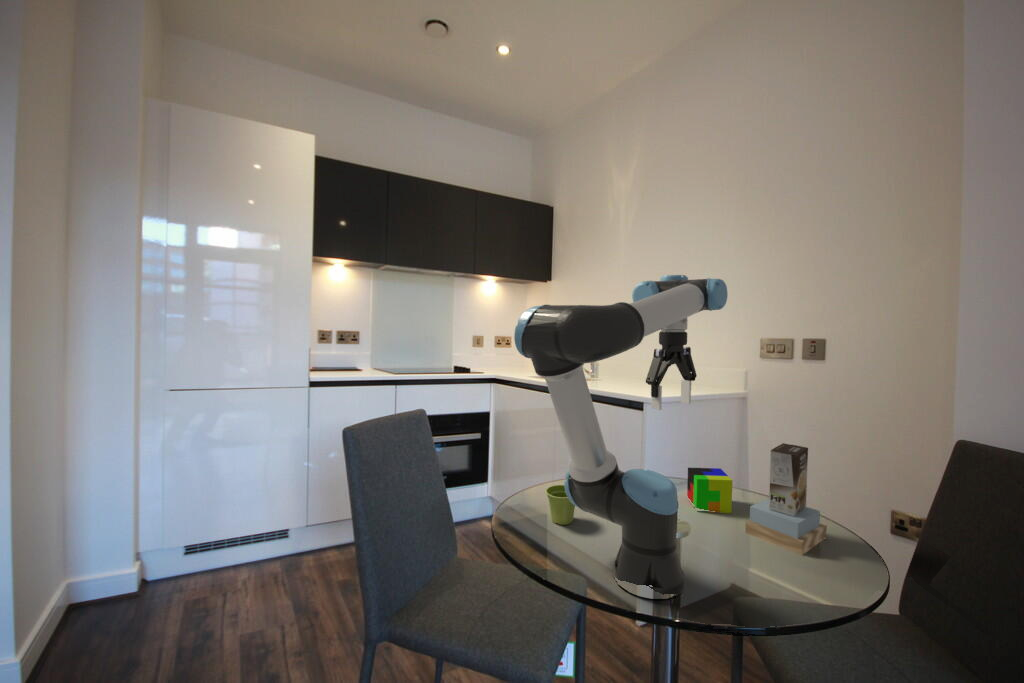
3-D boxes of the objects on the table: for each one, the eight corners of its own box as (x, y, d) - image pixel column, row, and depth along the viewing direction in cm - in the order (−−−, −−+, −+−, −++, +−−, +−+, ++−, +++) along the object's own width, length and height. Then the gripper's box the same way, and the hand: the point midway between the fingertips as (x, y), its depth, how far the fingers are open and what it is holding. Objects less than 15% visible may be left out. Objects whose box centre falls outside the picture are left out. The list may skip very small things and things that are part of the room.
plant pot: (552, 530, 127) (552, 499, 127) (541, 515, 136) (541, 486, 136) (583, 525, 130) (584, 495, 129) (570, 511, 139) (571, 483, 138)
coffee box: (795, 517, 118) (797, 455, 117) (768, 509, 123) (769, 450, 121) (806, 506, 124) (808, 447, 123) (780, 498, 129) (781, 442, 127)
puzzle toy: (719, 499, 147) (720, 468, 147) (731, 513, 137) (732, 480, 137) (687, 498, 148) (687, 467, 148) (696, 511, 138) (697, 479, 138)
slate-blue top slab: (797, 539, 115) (798, 523, 115) (749, 520, 125) (750, 506, 125) (819, 526, 122) (820, 511, 122) (772, 509, 132) (773, 496, 132)
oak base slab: (801, 557, 114) (802, 541, 114) (745, 535, 126) (745, 520, 125) (826, 540, 122) (826, 525, 122) (770, 520, 134) (771, 507, 133)
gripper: (656, 333, 120) (654, 414, 122) (710, 329, 135) (708, 402, 136) (633, 331, 126) (631, 409, 128) (687, 328, 141) (685, 398, 142)
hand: (671, 405), depth 132 cm, fingers open, 13 cm apart
